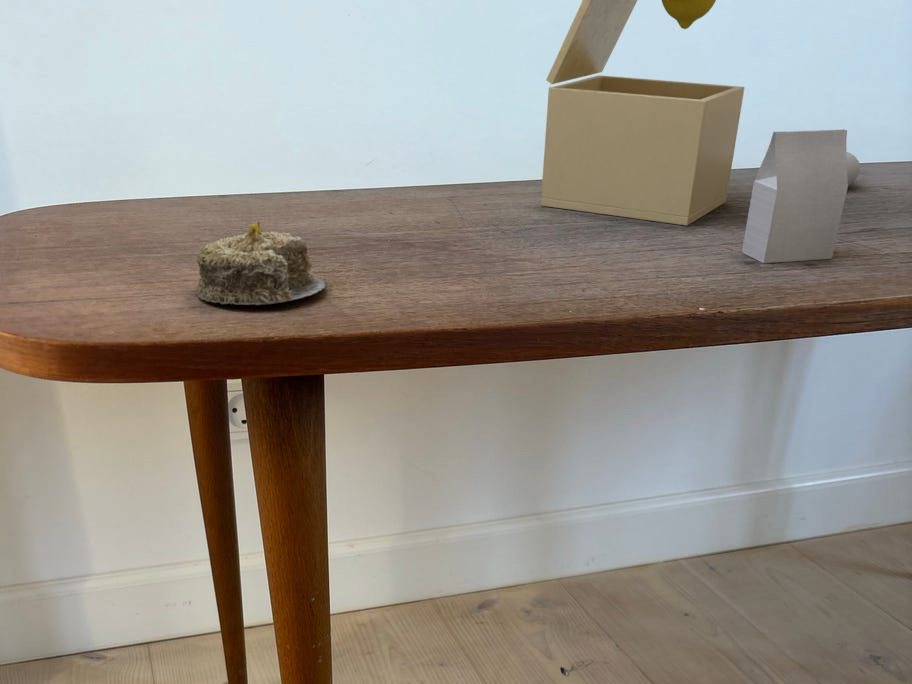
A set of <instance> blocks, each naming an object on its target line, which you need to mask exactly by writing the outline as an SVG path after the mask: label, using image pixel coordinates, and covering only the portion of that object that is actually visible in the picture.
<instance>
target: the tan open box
mask: <svg viewBox="0 0 912 684" xmlns="http://www.w3.org/2000/svg"><path fill="white" fill-rule="evenodd" d="M744 92H745V86H737V85H726V84H714V83H713V84H711V83H701V82H690V81H689V82H688V81H675V80H663V79H650V78H638V77H625V76H612V75H601V74H599V75H595V76H591V77H587V78H583V79H579V80H574V81H571V82H566V83H563V84H558V85H555V86H550V87H548V94H547V95H548V96H547V108H546V122H545V123H546V124H545V136H544V137H545V138H544V149H543V150H544V151H543V168H542V179H541V180H542V181H541V198H540V206H541V207H548V208H555V209H561V210H570V211H576V212H582V213H583V212H584V213H592V214H599V215H607V216H612V217H621V218H627V219H635V220H642V221H650V222H656V223H657V222H658V223H664V224H670V225H672V224H673V225H678V226H690V225H691V224H692V223H694V222H695V221H697V220H699V219H700V218H702V217H703V216H706V215H707V214H709V213H710V212H712V211H714V210H715V209H717V208H719V207H720V206H722V205H723V204H725V203H726V202H727V199H728V191H729V187H730V180H731V172H732V167H733V161H734V155H735V149H736V143H737V135H738V130H739V123H740V118H741V113H742V106H743V100H744Z"/></svg>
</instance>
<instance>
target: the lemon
mask: <svg viewBox="0 0 912 684" xmlns="http://www.w3.org/2000/svg"><path fill="white" fill-rule="evenodd" d="M716 2H717V0H661V4H662V7H663V8H664V10H665V11H666V13H667V14H668V15H669V16H670V17H671V18H673V19H674V20H675V21H677V24H678V25H679V27H680V28H681V29H683V30H686V29H689V28H690V27H691V26H692V25H693V24H694V22H696V21H697V20H699V19H701V18H703V17H704V16H706V15H707V14H708V13H709V12H710V10H711V9H712V8H713V6H714V5H715V3H716Z"/></svg>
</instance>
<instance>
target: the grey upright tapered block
mask: <svg viewBox="0 0 912 684" xmlns="http://www.w3.org/2000/svg"><path fill="white" fill-rule="evenodd" d="M847 136H848V129H842V128H841V129H819V130H818V129H816V130H815V129H814V130H788V131H787V130H786V131H773V133H772V136H771V139H770V142H769V144H768V148H767V150H766V153H765V155H764V158H763V159H762V162H761V164H760V167H759V168H758V171H757V174H756V176H755V178H754V181H753V185H752V191H751V197H750V204H749V208H748V215H747V220H746V226H745V232H744V237H743V241H742V242H743V243H742V249H741V253H742V254H743V255H746V256H748V257H749V258H752V259H754V260H756V261H758V262H759V263H761V264H773V263H789V262H790V263H791V262H804V261H819V260H832V259H833V255H834V252H835V247H836V243H837V237H838V233H839V229H840V224H841V220H842V215H843V210H844V205H845V202H846V201H845V200H846V197H847V192H848V189H849V186H848V178H847V157H846V152H847V138H848V137H847Z"/></svg>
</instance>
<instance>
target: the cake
mask: <svg viewBox="0 0 912 684" xmlns="http://www.w3.org/2000/svg"><path fill="white" fill-rule="evenodd" d="M260 224H261V223H260V221H259V220H255V221H254V223H253V224H251V225H250V227H248V229H249V230H248V232H247V233H243V234H239V235H234V236H232V237H230V236H227V237H224V238H223V239H222V238H220V239H217V240H215V241H213V242H210V243H207V244H206V245H204V246H202V248H201V250H200V251H199V252H198V253H197V256H196V257H197V258H196V262H197V265H198V267H199V272H198V274H199V275H200V277H199V278H198V284H197V288H196V290H195V296H197V298H199V299H200V300H204V301H205V302H206V303H207V302H210V303H214V304H216V303H217V304H218V303H219V304H220V305H228V304H229V305H237V306H239V305H241V306H252V305H254V306H261V305H263V306H264V305H265V306H266V305H273V304H279V303H286V302H292V301H295V300H299V299H304V298H307V297H310V296H312V295H315V294H318V293H319V292H321V291H322V290H323V289H325V286H326V283H325V281H324V280H323V279H321V278H318V277H317V276H316V274H315V273H314V271H312V266H313V265H314V263H313V262H312V261H311V260H310V256H309V251H308V250H309V249H308V245H307V241H306V240H304V239H302V237H300V236H297V235H295V236H292V234H291V233H290V232H282V233H280V232H279V231H273V230H272V231H270V232H263V230H261V225H260Z"/></svg>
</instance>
